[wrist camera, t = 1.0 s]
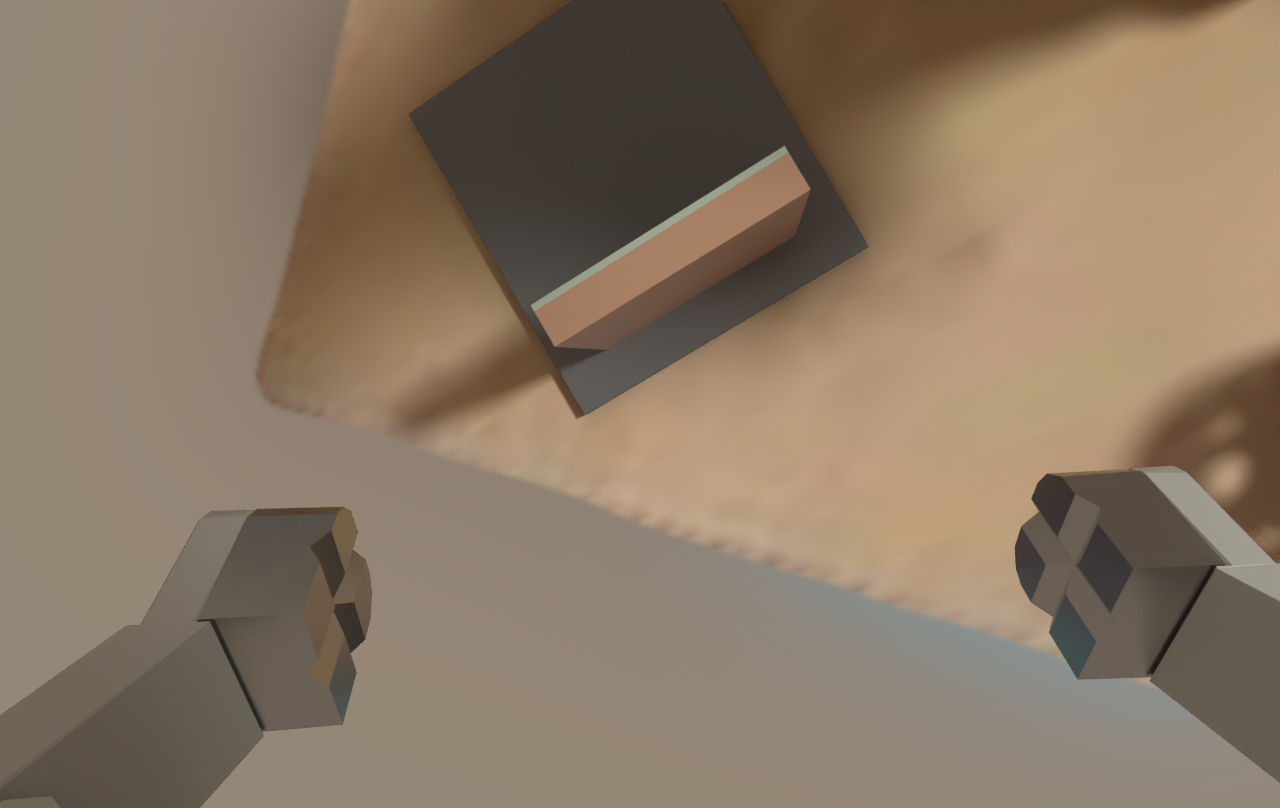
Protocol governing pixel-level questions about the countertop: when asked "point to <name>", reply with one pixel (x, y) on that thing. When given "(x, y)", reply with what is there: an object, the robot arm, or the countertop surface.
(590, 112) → the mat
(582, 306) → the tile
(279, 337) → the countertop surface
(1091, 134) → the countertop surface
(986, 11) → the countertop surface
